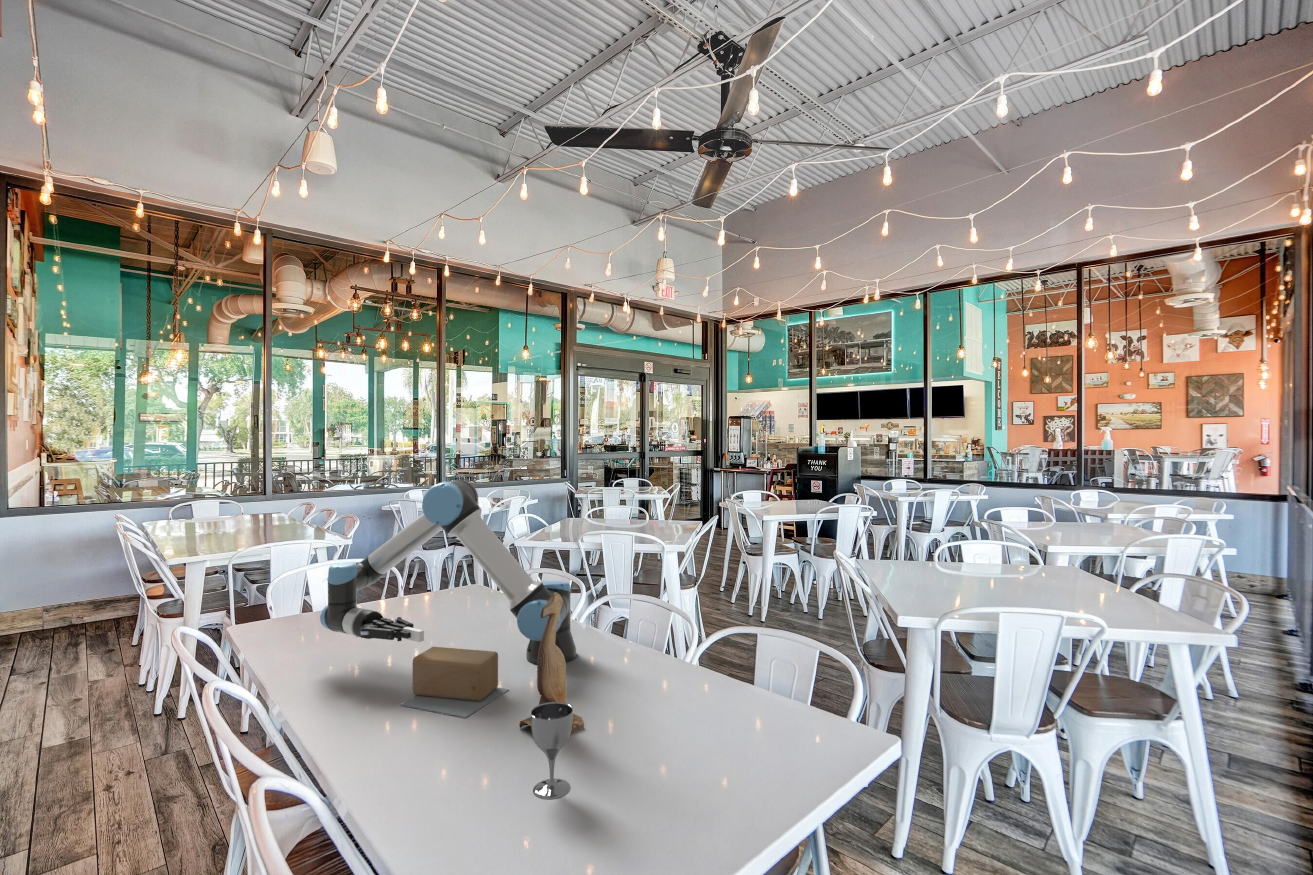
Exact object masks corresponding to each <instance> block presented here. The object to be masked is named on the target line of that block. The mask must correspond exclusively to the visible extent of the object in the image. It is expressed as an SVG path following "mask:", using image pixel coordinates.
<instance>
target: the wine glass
mask: <svg viewBox="0 0 1313 875" xmlns="http://www.w3.org/2000/svg"><path fill="white" fill-rule="evenodd" d="M573 714H574V710H573V707H572V705H570V704H568V703H567V702H566V703H562V702H548V703H543V704H540V705H539V704H537V705H536V706H533V708H532V709H531V711H530V717H531V726H530V727H531V728H530V729H531V733H532V737H533V738H532V739H533V741H534V743H535V745H536V746H537V747H538V748H539V750H541V751H542V753H543V754H545V756H546V758H547V762H548V767H549V778H546V779H543V780H541V781H539V782H537V783H536V784H535V785H534V786H533V789H532V794H533V795H534V796H535V797H537V798H539V799H542V800H555V799H560V798H562V797H564V796H566V795H567V794H568V793H569V792H570V791H571V785H570V782H568V781H567V780H564V779H561V778H555V775H554V774H555V764H556V759H557V756H558V754H559V753H560V752H561V751H562V750H563V748H564V747H565V746H566V745H567V743H568V742H569V739H570V737H571V734H572V733H571V730H572V722H573Z"/></svg>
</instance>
